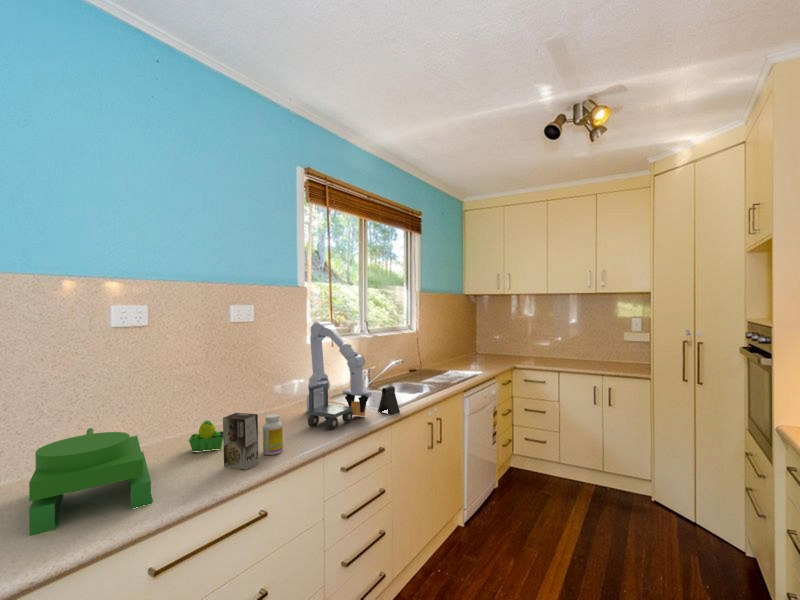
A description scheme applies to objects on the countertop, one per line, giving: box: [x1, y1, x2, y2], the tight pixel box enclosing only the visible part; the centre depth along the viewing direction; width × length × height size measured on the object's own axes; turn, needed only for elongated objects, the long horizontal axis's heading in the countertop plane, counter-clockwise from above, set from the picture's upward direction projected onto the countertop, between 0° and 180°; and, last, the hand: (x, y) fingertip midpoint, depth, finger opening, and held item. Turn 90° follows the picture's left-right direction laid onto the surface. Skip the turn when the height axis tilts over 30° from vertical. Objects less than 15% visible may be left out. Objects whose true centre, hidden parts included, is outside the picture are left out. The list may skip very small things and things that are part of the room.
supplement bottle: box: [262, 413, 284, 456], centre depth 142 cm, size 7×7×13 cm
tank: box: [28, 427, 154, 537], centre depth 113 cm, size 24×35×16 cm
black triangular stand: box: [377, 386, 401, 416], centre depth 192 cm, size 9×6×12 cm, turn 47°
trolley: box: [307, 382, 352, 418], centre depth 175 cm, size 14×13×12 cm
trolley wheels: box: [307, 411, 354, 431], centre depth 174 cm, size 12×16×5 cm
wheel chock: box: [351, 400, 367, 417], centre depth 184 cm, size 5×8×6 cm, turn 153°
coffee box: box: [222, 412, 260, 471], centre depth 131 cm, size 9×6×16 cm
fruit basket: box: [188, 420, 223, 452], centre depth 145 cm, size 11×9×11 cm
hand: (357, 411), depth 184 cm, fingers closed on wheel chock, 5 cm apart
